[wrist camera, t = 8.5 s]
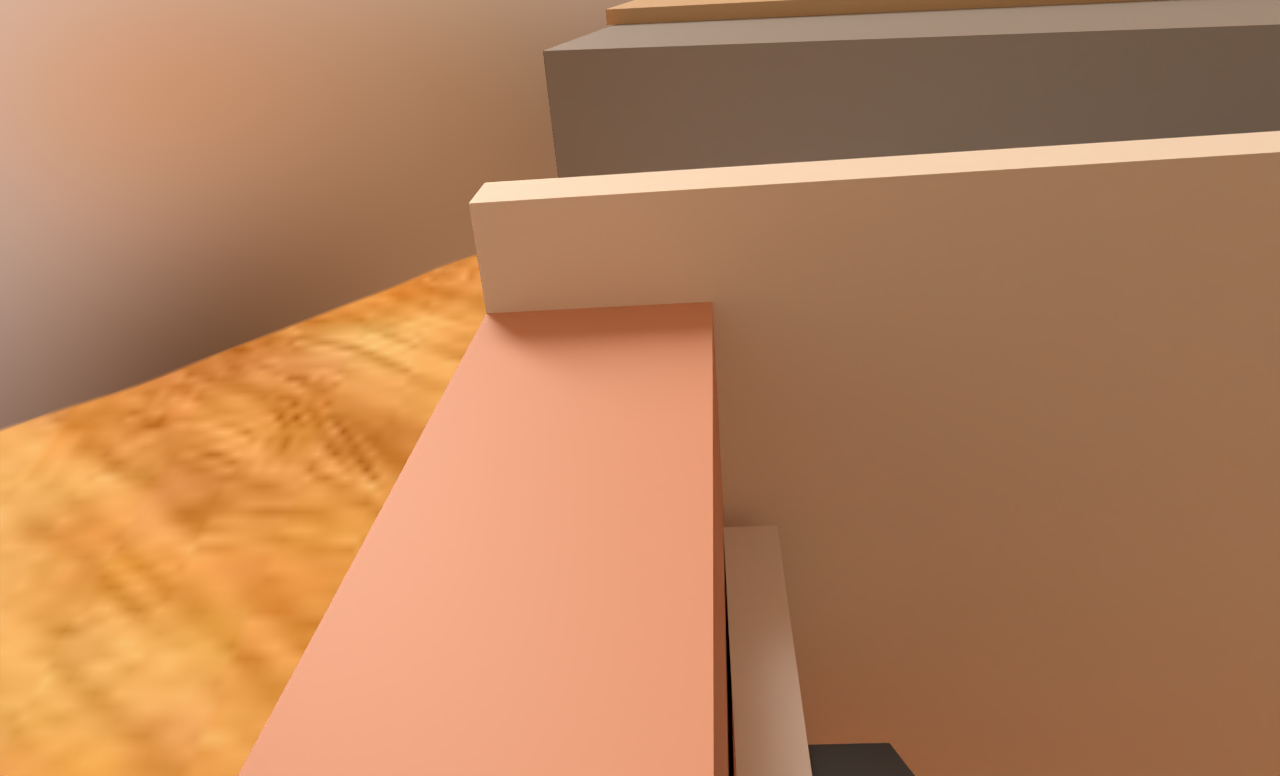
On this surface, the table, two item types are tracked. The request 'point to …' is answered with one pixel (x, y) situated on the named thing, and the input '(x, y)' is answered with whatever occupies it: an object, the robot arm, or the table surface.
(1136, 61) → the carton
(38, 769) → the table surface
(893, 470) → the door
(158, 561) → the table surface
